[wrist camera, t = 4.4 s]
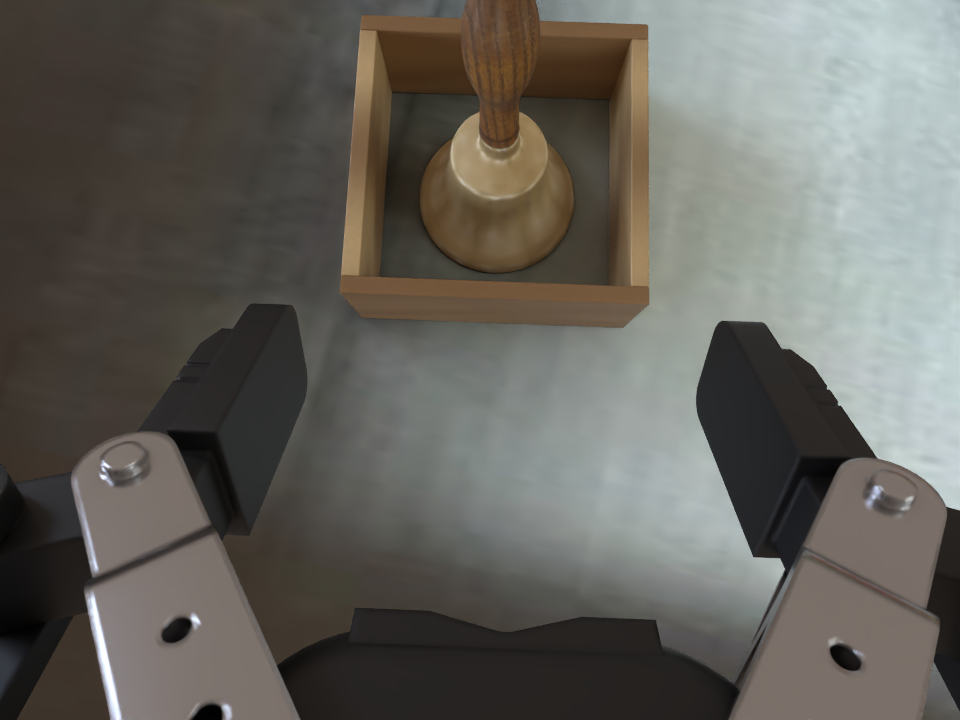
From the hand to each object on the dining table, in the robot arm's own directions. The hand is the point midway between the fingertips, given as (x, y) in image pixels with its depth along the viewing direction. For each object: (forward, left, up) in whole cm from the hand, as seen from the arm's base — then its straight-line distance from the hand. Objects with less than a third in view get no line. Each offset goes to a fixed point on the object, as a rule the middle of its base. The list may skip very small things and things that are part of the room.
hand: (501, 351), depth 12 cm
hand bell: (+7, +9, -19) cm, 23 cm away
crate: (+7, +9, -19) cm, 22 cm away
